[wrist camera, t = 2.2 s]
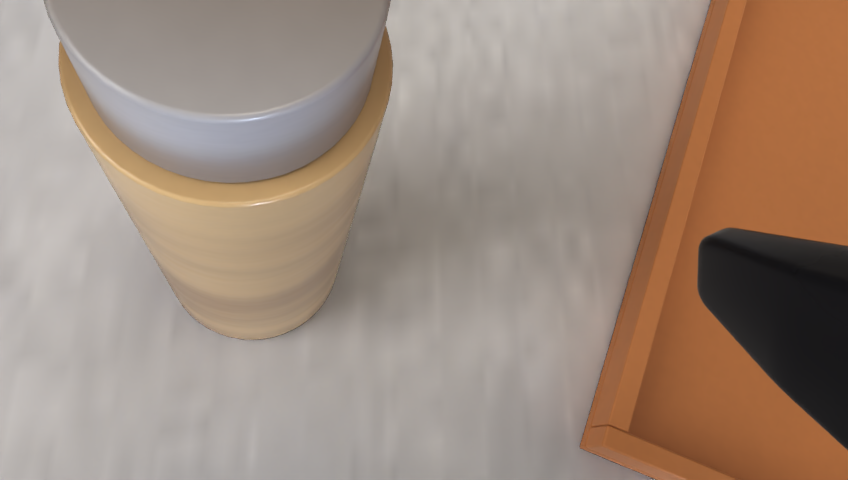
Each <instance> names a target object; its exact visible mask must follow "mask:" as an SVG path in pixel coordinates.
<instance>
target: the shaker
mask: <svg viewBox="0 0 848 480" xmlns="http://www.w3.org/2000/svg"><path fill="white" fill-rule="evenodd" d="M390 1H391V0H44V3H45V7H46V10H47V13H48V16H49V18H50V20H51V23H52V25H53V27H54V29H55V31H56V33H57V35H58V37H59V39H60V43H59V72H60V80H61V86H62V89H63V93H64V96H65V100H66V103H67V106H68V108H69V110H70V112H71V114H72V117H73V119H74V121H75V123H76V125H77V126H78V128H79V130H80V132H81V133H82V135H83V137H84V138H85V140H86V142H87V144H88V145H89V147H90V149H91V150H92V152H93V154H94V156H95V157H96V159H97V161H98V162H99V164H100V166H101V168H102V169H103V171H104V173H105V174H106V176H107V178H108V180H109V181H110V183H111V185H112V187H113V188H114V190H115V192H116V193H117V195H118V197H119V199H120V200H121V202H122V204H123V205H124V207H125V209H126V211H127V212H128V214H129V216H130V217H131V219H132V221H133V223H134V224H135V226H136V228H137V229H138V231H139V233H140V235H141V236H142V238H143V240H144V241H145V243H146V245H147V247H148V248H149V250H150V252H151V253H152V255H153V257H154V259H155V260H156V262H157V264H158V265H159V267H160V269H161V271H162V272H163V274H164V276H165V278H166V279H167V281H168V283H169V284H170V286H171V288H172V290H173V291H174V293H175V295H176V296H177V298H178V300H179V301H180V303H181V304H182V306H183V307H184V308H185V309H186V310H187V312H188V313H189V314H190V315H191V316H192V317H193V318H195V319H196V320H197V321H198V322H199V323H201V324H202V325H204V326H205V327H207V328H208V329H211V330H213V331H215V332H217V333H219V334H222V335H225V336H228V337H233V338H238V339H249V340H255V339H266V338H271V337H275V336H278V335H281V334H284V333H287V332H289V331H291V330H293V329H295V328H297V327H298V326H300V325H302V324H303V323H305V322H306V321H307V320H308V319H310V318H311V317H312V316H313V315H314V314H315V313H316V312H317V311H318V310H319V309H320V307H321V306H322V305H323V303H324V302H325V300H326V299H327V297H328V295H329V293H330V291H331V289H332V287H333V284H334V281H335V279H336V275H337V272H338V269H339V265H340V262H341V259H342V255H343V252H344V248H345V245H346V242H347V238H348V235H349V232H350V228H351V225H352V222H353V218H354V215H355V212H356V208H357V205H358V202H359V198H360V195H361V192H362V188H363V185H364V181H365V178H366V175H367V171H368V168H369V165H370V161H371V158H372V155H373V151H374V148H375V145H376V141H377V138H378V135H379V131H380V128H381V125H382V121H383V118H384V114H385V111H386V108H387V104H388V101H389V96H390V91H391V86H392V73H393V60H392V50H391V44H390V40H389V36H388V32H387V28H386V21H387V16H388V11H389V6H390Z"/></svg>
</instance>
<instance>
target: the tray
mask: <svg viewBox="0 0 848 480" xmlns="http://www.w3.org/2000/svg"><path fill="white" fill-rule="evenodd" d="M728 227H733V228H739V229H746V230H752V231H758V232H764V233H770V234H777V235H783V236H789V237H795V238H801V239H808V240H814V241H820V242H826V243H833V244H839V245H845V246H848V0H711V3H710V7H709V10H708V13H707V17H706V20H705V24H704V27H703V30H702V34H701V37H700V41H699V44H698V47H697V51H696V54H695V58H694V61H693V64H692V68H691V71H690V75H689V78H688V81H687V85H686V88H685V91H684V95H683V98H682V102H681V105H680V108H679V112H678V115H677V119H676V122H675V125H674V129H673V132H672V136H671V139H670V142H669V146H668V149H667V153H666V156H665V159H664V163H663V166H662V169H661V173H660V176H659V180H658V183H657V186H656V190H655V193H654V197H653V200H652V203H651V207H650V210H649V214H648V217H647V220H646V224H645V227H644V231H643V234H642V237H641V241H640V244H639V248H638V251H637V254H636V258H635V261H634V264H633V268H632V271H631V275H630V278H629V281H628V285H627V288H626V292H625V295H624V298H623V302H622V305H621V309H620V312H619V315H618V319H617V322H616V326H615V329H614V332H613V336H612V339H611V342H610V346H609V349H608V353H607V356H606V359H605V363H604V366H603V370H602V373H601V376H600V380H599V383H598V387H597V390H596V393H595V397H594V400H593V404H592V407H591V410H590V414H589V417H588V420H587V424H586V427H585V431H584V434H583V437H582V441H581V444H580V448H581V449H583V450H586V451H588V452H591V453H593V454H596V455H598V456H600V457H603V458H605V459H608V460H610V461H612V462H615V463H617V464H620V465H622V466H625V467H627V468H629V469H632V470H634V471H637V472H639V473H641V474H644V475H646V476H649V477H651V478H654V479H656V480H848V450H847V449H845V448H844V447H843V446H842V445H841V444H840V443H839V442H838V441H837V440H836V439H835V438H833V437H832V436H831V435H830V434H829V433H828V432H827V431H826V430H825V429H824V428H822V427H821V426H820V425H819V424H818V423H817V422H816V421H815V420H814V419H813V418H812V417H810V416H809V415H808V414H807V413H806V412H805V411H804V410H803V409H802V408H801V407H799V406H798V405H797V404H796V403H795V402H794V401H793V400H792V399H791V398H790V397H789V396H788V395H787V394H786V393H785V392H783V391H782V390H781V389H780V388H779V387H778V386H777V385H776V384H775V383H774V381H773V380H772V379H771V378H770V377H769V376H768V375H767V374H766V373H765V372H764V371H763V370H762V369H761V368H760V366H759V365H758V364H757V363H756V362H755V361H754V360H753V359H752V357H751V356H750V355H749V354H748V353H747V352H746V351H745V350H744V349H743V347H742V346H741V345H740V344H739V343H738V342H737V341H736V340H735V339H734V337H733V336H732V335H731V334H730V333H729V332H728V331H727V330H726V329H725V327H724V326H723V325H722V324H721V323H720V322H719V321H718V320H717V319H716V317H715V316H714V315H713V314H712V313H711V312H710V311H709V310H708V309H707V307H706V306H705V305H704V304H703V302H702V300H701V299H700V296H699V294H698V290H697V273H698V248H699V244H700V242H701V240H702V239H703V238H704V237H706V236H708V235H710V234H712V233H715V232H717V231H719V230H721V229H724V228H728Z"/></svg>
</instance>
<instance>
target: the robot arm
mask: <svg viewBox="0 0 848 480" xmlns="http://www.w3.org/2000/svg"><path fill="white" fill-rule="evenodd" d="M697 290H698V294H699V296H700V299H701V300H702V302H703V304H704V305H705V306H706V307H707V309H708V310H709V311H710V312H711V313H712V314H713V315H714V316H715V317H716V319H717V320H718V321H719V322H720V323H721V324H722V325H723V326H724V327H725V329H726V330H727V331H728V332H729V333H730V334H731V335H732V336H733V337H734V339H735V340H736V341H737V342H738V343H739V344H740V345H741V346H742V347H743V349H744V350H745V351H746V352H747V353H748V354H749V355H750V356H751V357H752V359H753V360H754V361H755V362H756V363H757V364H758V365H759V366H760V368H761V369H762V370H763V371H764V372H765V373H766V374H767V375H768V376H769V377H770V378H771V379H772V380H773V381H774V383H775V384H776V385H777V386H778V387H779V388H780V389H781V390H782V391H783V392H785V393H786V394H787V395H788V396H789V397H790V398H791V399H792V400H793V401H794V402H795V403H796V404H797V405H798V406H799V407H801V408H802V409H803V410H804V411H805V412H806V413H807V414H808V415H809V416H810V417H812V418H813V419H814V420H815V421H816V422H817V423H818V424H819V425H820V426H821V427H822V428H824V429H825V430H826V431H827V432H828V433H829V434H830V435H831V436H832V437H833V438H835V439H836V440H837V441H838V442H839V443H840V444H841V445H842V446H843V447H844V448H845V449H847V450H848V246H845V245H839V244H833V243H826V242H820V241H814V240H808V239H801V238H795V237H789V236H783V235H777V234H770V233H764V232H758V231H752V230H746V229H739V228H733V227H728V228H724V229H721V230H719V231H717V232H715V233H712V234H710V235H708V236H706V237H704V238H703V239H702V240H701V242H700V244H699V248H698V273H697Z"/></svg>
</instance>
